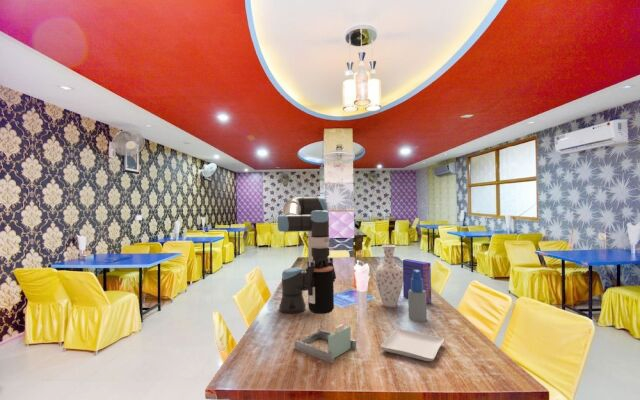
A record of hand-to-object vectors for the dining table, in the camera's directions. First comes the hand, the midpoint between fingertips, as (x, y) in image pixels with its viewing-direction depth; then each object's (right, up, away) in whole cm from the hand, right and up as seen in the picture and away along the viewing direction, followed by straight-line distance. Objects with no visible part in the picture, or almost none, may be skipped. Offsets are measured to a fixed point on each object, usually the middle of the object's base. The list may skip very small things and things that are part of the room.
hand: (321, 299), depth 134 cm
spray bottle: (+50, -20, +32) cm, 63 cm away
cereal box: (+60, -20, +65) cm, 90 cm away
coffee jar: (0, -5, 0) cm, 5 cm away
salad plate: (+38, -20, -2) cm, 43 cm away
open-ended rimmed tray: (+2, -20, -2) cm, 20 cm away
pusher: (+8, -19, -6) cm, 22 cm away
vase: (+41, -20, +55) cm, 71 cm away
